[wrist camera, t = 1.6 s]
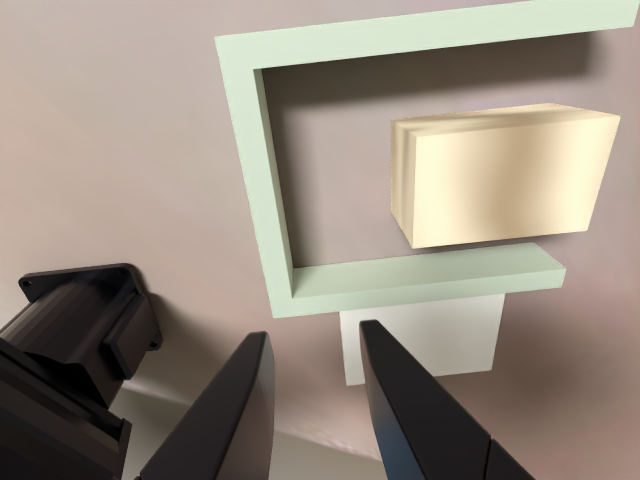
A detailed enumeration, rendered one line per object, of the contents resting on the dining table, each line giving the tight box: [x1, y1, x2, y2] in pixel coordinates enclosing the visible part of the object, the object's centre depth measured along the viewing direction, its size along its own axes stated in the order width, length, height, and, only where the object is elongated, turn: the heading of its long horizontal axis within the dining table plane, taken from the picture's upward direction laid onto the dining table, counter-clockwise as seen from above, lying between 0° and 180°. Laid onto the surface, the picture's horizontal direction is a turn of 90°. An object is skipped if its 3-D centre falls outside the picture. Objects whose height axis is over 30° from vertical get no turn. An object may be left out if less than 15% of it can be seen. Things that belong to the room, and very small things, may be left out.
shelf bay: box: [214, 0, 640, 319], centre depth 17 cm, size 16×13×3 cm
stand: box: [339, 293, 505, 386], centre depth 23 cm, size 10×7×2 cm
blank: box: [391, 103, 621, 248], centre depth 17 cm, size 8×5×4 cm, turn 95°
